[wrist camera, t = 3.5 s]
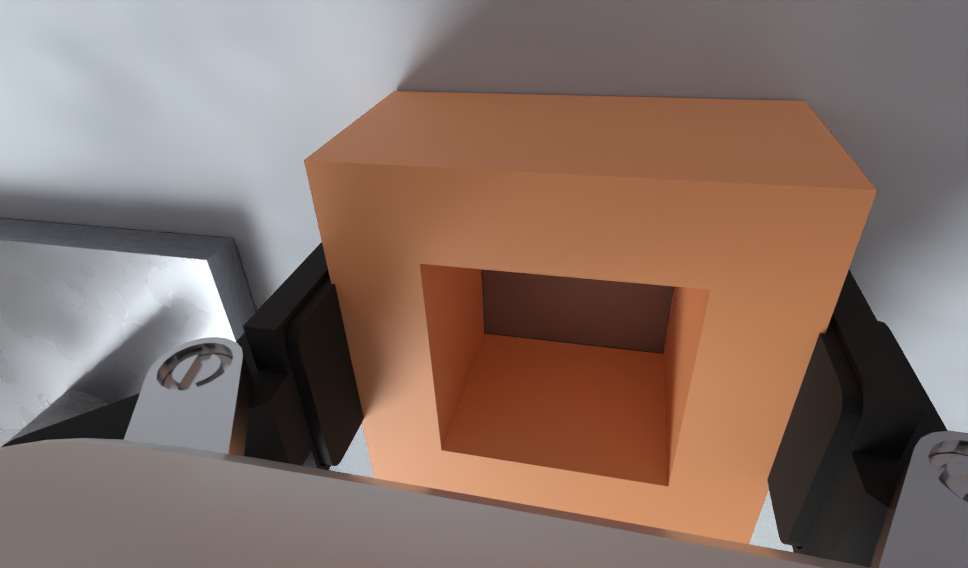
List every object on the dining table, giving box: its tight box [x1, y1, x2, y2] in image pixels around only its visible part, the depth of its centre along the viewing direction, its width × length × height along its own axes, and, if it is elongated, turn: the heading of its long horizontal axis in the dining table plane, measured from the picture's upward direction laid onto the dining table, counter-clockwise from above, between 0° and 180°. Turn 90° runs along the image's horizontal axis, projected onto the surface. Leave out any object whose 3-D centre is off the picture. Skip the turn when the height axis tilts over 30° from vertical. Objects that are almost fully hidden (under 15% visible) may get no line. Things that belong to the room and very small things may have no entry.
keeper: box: [0, 218, 256, 447], centre depth 15 cm, size 12×12×6 cm
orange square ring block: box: [304, 91, 877, 544], centre depth 10 cm, size 7×7×4 cm
